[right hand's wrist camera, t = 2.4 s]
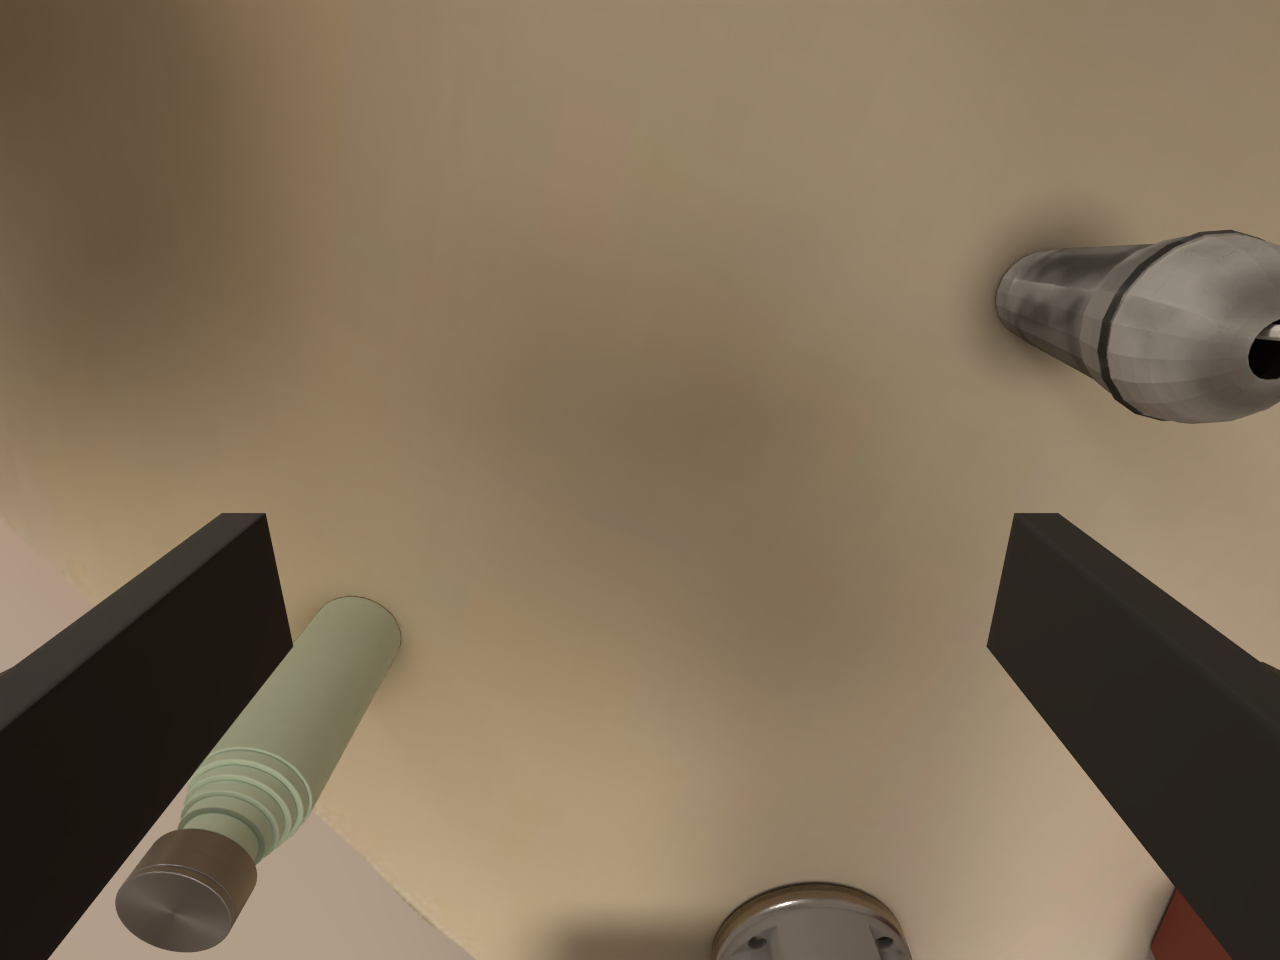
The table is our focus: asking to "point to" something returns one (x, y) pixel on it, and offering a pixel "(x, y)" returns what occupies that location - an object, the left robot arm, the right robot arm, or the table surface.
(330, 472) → the table surface
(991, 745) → the table surface
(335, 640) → the bottle
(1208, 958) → the bucket
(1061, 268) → the beverage cup
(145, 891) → the cap
